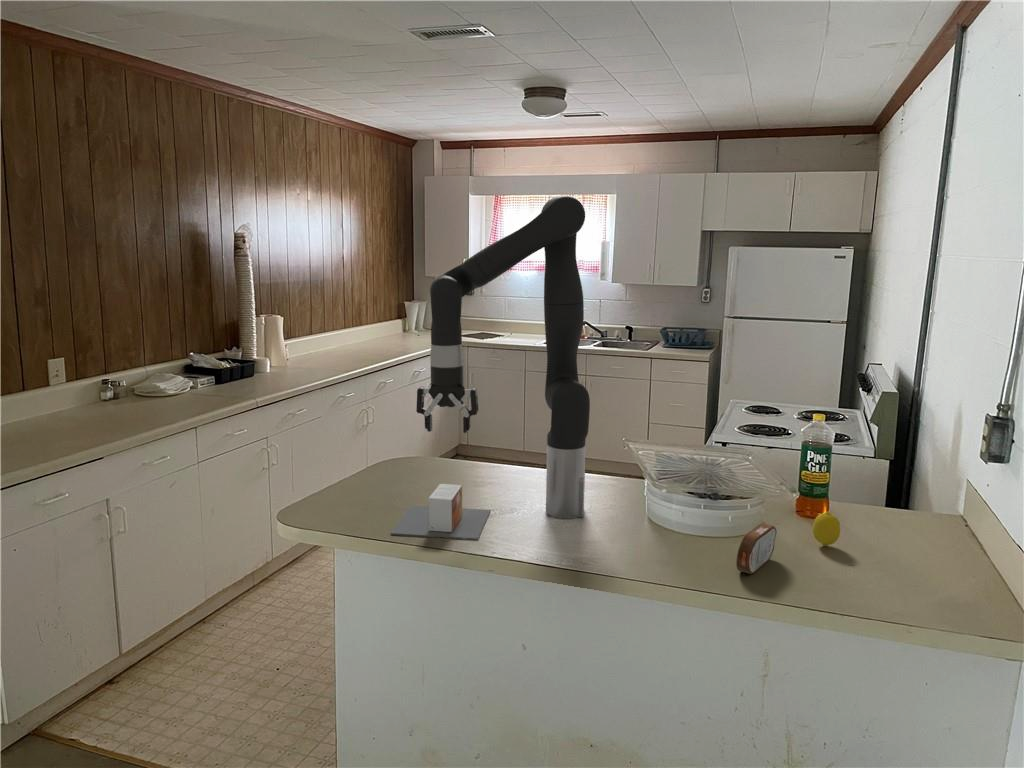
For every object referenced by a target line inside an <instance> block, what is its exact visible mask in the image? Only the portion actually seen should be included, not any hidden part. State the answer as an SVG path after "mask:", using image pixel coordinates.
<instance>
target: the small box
mask: <svg viewBox="0 0 1024 768" xmlns="http://www.w3.org/2000/svg"><path fill="white" fill-rule="evenodd" d="M427 501H428V506H429V531H441V532H452V531H453V530H454V528H455V527H456V525H457V524H458V522H459V521H460V519H461V518H462V508H463V485H461V484H449V483H439V484H438V486H436V489H434V490H433V492H432V493H431V494H430V495H429V497H428V499H427Z"/></svg>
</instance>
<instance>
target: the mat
mask: <svg viewBox="0 0 1024 768" xmlns="http://www.w3.org/2000/svg"><path fill="white" fill-rule="evenodd" d="M490 511H491V509H482V508H481V509H480V508H467V507H466V508H464V507H462V518H461V519H460V521H459V522H458V524H457V525H456V527H455V528H454V530H453V531H452V532H441V531H429V505H427V506H424V505H410V506H409V508H408V509H407V510H406V511H405V513H404V514H403V516H402V517H401V518H400V519H399V521H398V522H397V524H396V525H395V526H394V527H393V529H392V531H391V532H390V535H391V536H401V537H402V536H405V537H418V538H419V537H420V538H422V537H423V538H435V537H446V538H445V539H451V538H467V539H466V540H468V539H478V538H480V537H479V536H481V534H482V532H481V531H483V530H482V529H484V528H483V527H485V525H486V523H487V521H488V519H487V518H489V516H490V514H491V512H490ZM447 537H448V538H447ZM478 540H479V539H478Z"/></svg>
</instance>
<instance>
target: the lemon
mask: <svg viewBox="0 0 1024 768" xmlns="http://www.w3.org/2000/svg"><path fill="white" fill-rule="evenodd" d="M813 521H814V522H813V525H812V533H813V537H814V538H815V540H816V541H817V542H818V543H819V544H821V545H822V546H823V547H828V546H830V545H833V544H835V543H836V542H838V539H839V538H840V535H841V524H840V521H839V519H838V518H837V516H835V515H834V514H833V513H831V512H830V511H826V512H823V513H820V514H818V515H817V516H816V517H815V519H814V520H813Z"/></svg>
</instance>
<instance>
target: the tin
mask: <svg viewBox="0 0 1024 768" xmlns="http://www.w3.org/2000/svg"><path fill="white" fill-rule="evenodd" d="M776 535H777V528H776V527H775V526H774V525H772V524H769V523H765V521H762V522H759V524H757V525H756V526H754V527H753V528H751V529H750V530H749V531H747V532H746V533H745V535H744V536H743V537H742V539H741V541H740V543H739V547H738V550H737V555H736V562H735V563H736V569H737V571H739V572H742V573H746V574H748V575H753V574H755V573H756V572H757V571H758V570H760V567H761V568H762V567H763V566H764V565H766V564H767V563H768V562H769V561H770V558H771V557H772V554H773V553H774V549H775V542H776ZM767 561H768V562H767ZM766 562H767V563H766Z"/></svg>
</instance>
